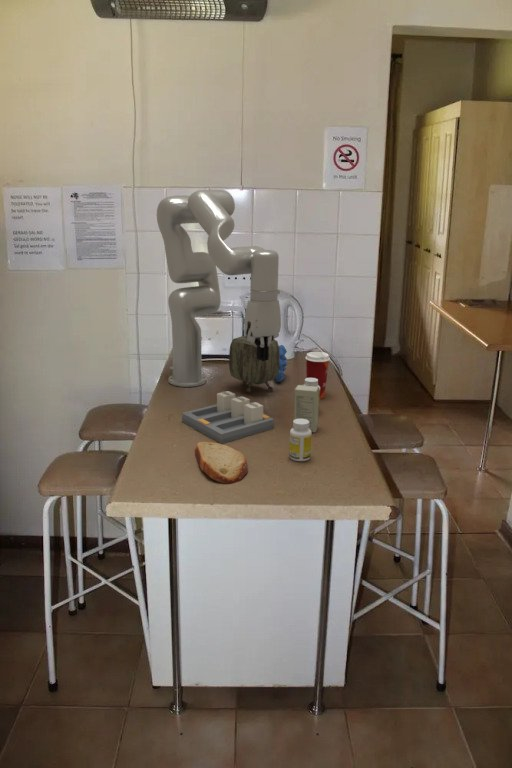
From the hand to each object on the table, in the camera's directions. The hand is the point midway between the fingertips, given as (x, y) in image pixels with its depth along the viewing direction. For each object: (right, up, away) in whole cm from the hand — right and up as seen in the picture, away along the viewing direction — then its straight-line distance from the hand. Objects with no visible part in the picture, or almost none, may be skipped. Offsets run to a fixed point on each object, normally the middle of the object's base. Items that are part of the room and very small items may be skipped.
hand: (262, 359), depth 189 cm
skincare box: (+12, -20, -3) cm, 23 cm away
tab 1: (-6, -17, 0) cm, 18 cm away
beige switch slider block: (-11, -15, +4) cm, 19 cm away
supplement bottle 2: (+14, -16, +9) cm, 23 cm away
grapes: (+5, -6, +38) cm, 39 cm away
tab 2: (-3, -18, -4) cm, 19 cm away
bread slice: (-11, -27, -26) cm, 39 cm away
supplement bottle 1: (+9, -26, -21) cm, 35 cm away
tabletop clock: (-3, -9, +27) cm, 28 cm away
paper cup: (+17, -11, +23) cm, 30 cm away
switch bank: (-10, -19, -2) cm, 21 cm away
